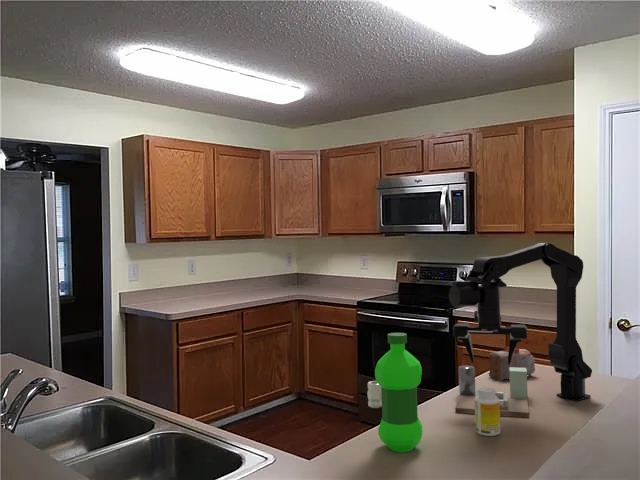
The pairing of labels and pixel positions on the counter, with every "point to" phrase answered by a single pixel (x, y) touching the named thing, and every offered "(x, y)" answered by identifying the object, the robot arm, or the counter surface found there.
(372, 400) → the valve
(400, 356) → the plastic bottle
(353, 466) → the counter surface
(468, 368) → the round peg
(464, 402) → the bore board
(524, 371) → the square peg
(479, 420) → the supplement bottle
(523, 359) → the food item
